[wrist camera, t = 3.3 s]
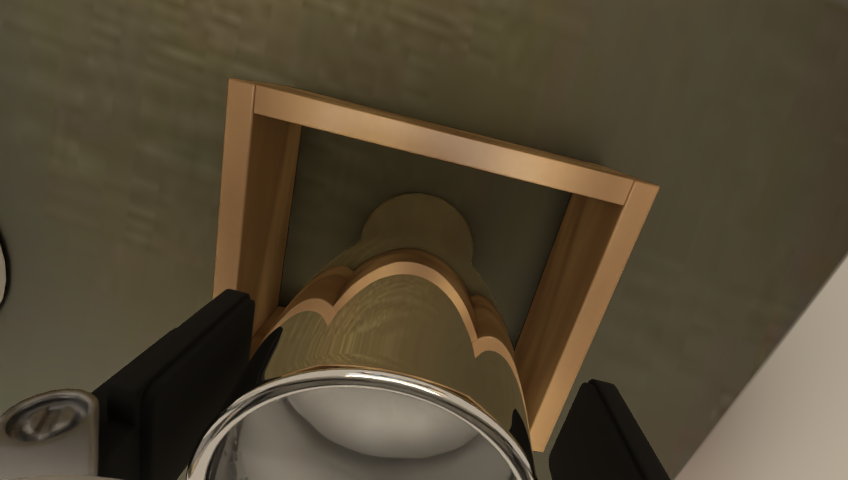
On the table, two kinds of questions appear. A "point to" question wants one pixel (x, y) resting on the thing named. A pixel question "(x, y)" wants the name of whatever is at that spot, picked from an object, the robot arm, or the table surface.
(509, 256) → the table surface
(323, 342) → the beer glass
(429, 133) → the crate
